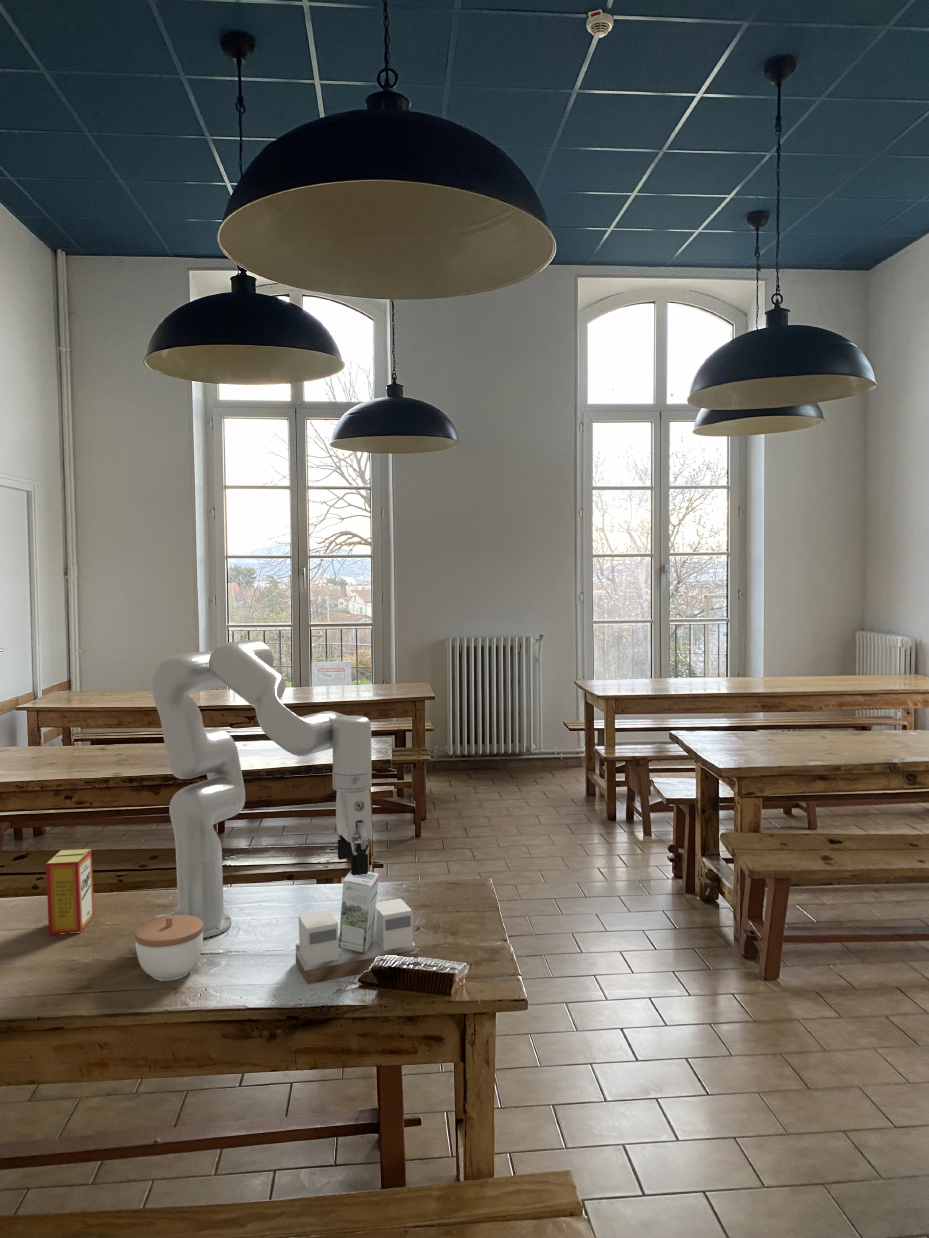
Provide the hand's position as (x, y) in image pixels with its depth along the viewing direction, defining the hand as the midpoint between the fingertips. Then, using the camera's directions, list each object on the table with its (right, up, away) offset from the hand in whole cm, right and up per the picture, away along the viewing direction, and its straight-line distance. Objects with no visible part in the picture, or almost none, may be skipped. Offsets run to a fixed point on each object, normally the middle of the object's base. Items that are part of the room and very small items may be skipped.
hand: (352, 866), depth 173 cm
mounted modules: (+1, -16, 0) cm, 16 cm away
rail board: (+1, -19, +1) cm, 19 cm away
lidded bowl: (-35, -20, -2) cm, 40 cm away
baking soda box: (-65, -20, +22) cm, 71 cm away
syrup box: (+1, -16, +1) cm, 16 cm away
